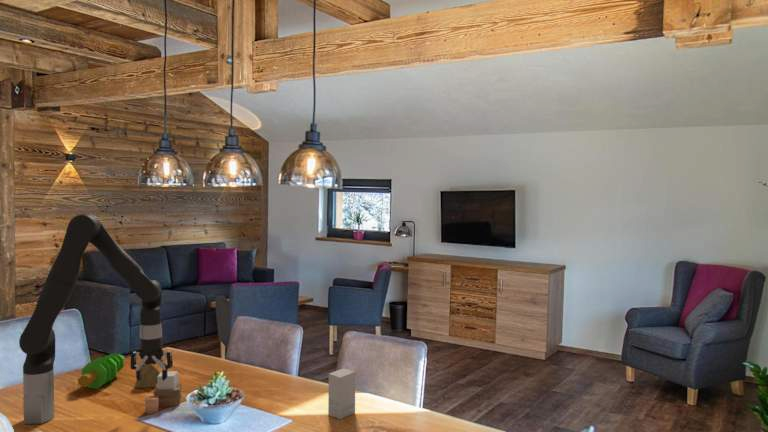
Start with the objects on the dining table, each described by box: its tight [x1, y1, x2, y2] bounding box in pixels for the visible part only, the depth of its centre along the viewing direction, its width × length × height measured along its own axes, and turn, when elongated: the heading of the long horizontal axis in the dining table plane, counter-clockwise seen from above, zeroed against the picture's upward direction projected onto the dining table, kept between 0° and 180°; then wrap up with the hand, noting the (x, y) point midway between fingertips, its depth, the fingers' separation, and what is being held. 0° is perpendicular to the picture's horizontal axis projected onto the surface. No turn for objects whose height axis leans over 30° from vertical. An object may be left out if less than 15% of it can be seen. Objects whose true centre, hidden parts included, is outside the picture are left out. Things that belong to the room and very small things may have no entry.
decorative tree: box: [77, 353, 125, 389], centre depth 251 cm, size 11×12×30 cm
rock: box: [134, 363, 161, 389], centre depth 245 cm, size 11×9×10 cm
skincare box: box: [327, 367, 356, 420], centre depth 218 cm, size 8×7×16 cm
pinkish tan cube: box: [144, 395, 160, 415], centre depth 219 cm, size 5×5×5 cm
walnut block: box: [153, 381, 182, 407], centre depth 229 cm, size 9×9×6 cm
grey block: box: [157, 370, 179, 390], centre depth 229 cm, size 6×6×5 cm
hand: (152, 379), depth 218 cm, fingers open, 8 cm apart
